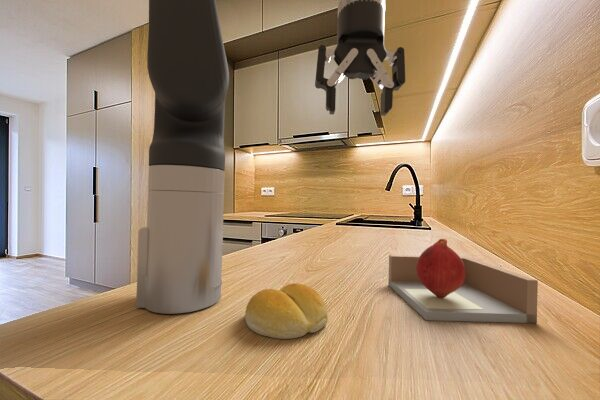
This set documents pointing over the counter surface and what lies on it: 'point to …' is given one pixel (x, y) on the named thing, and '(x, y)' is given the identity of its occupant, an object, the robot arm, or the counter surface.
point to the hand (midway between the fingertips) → (358, 113)
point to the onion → (440, 269)
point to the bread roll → (286, 312)
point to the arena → (468, 293)
